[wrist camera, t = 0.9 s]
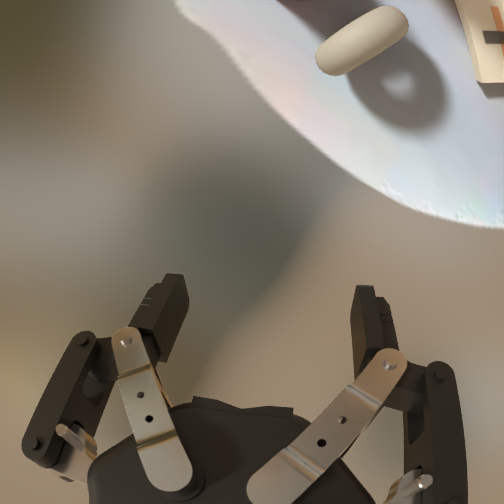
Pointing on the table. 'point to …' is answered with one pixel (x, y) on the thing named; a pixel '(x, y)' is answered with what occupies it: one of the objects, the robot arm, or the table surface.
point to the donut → (361, 40)
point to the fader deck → (484, 37)
